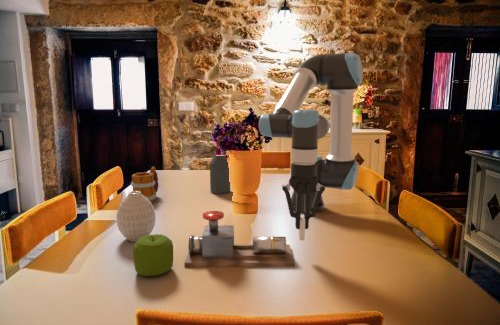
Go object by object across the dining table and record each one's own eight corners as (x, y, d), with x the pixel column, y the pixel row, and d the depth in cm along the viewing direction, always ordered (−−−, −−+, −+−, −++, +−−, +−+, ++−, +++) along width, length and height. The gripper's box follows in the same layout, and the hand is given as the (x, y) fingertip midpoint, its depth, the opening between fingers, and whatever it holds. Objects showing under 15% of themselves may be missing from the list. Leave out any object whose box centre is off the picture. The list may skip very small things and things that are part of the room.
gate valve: (234, 247, 117) (233, 209, 115) (232, 260, 109) (232, 219, 106) (192, 247, 117) (191, 209, 115) (188, 260, 109) (186, 219, 106)
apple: (153, 285, 97) (151, 246, 95) (125, 274, 102) (123, 238, 100) (182, 268, 106) (180, 232, 104) (155, 259, 111) (153, 225, 109)
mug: (126, 203, 169) (124, 171, 166) (148, 194, 184) (147, 164, 181) (145, 205, 165) (144, 173, 162) (167, 196, 180) (165, 166, 177)
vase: (121, 248, 119) (117, 199, 116) (115, 235, 130) (112, 190, 127) (160, 241, 125) (158, 194, 122) (152, 229, 136) (149, 185, 133)
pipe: (284, 249, 116) (284, 233, 115) (286, 256, 111) (286, 240, 110) (252, 249, 116) (252, 233, 115) (252, 256, 111) (253, 240, 110)
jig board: (289, 248, 120) (289, 241, 119) (294, 266, 107) (294, 259, 107) (191, 248, 120) (191, 241, 119) (184, 266, 107) (184, 259, 107)
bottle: (233, 192, 186) (233, 133, 181) (217, 195, 181) (216, 135, 175) (223, 188, 195) (222, 131, 189) (207, 191, 189) (205, 133, 184)
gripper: (323, 160, 112) (320, 234, 116) (280, 160, 112) (279, 234, 116) (328, 165, 104) (325, 243, 108) (283, 164, 104) (281, 243, 108)
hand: (301, 238), depth 112 cm, fingers closed
